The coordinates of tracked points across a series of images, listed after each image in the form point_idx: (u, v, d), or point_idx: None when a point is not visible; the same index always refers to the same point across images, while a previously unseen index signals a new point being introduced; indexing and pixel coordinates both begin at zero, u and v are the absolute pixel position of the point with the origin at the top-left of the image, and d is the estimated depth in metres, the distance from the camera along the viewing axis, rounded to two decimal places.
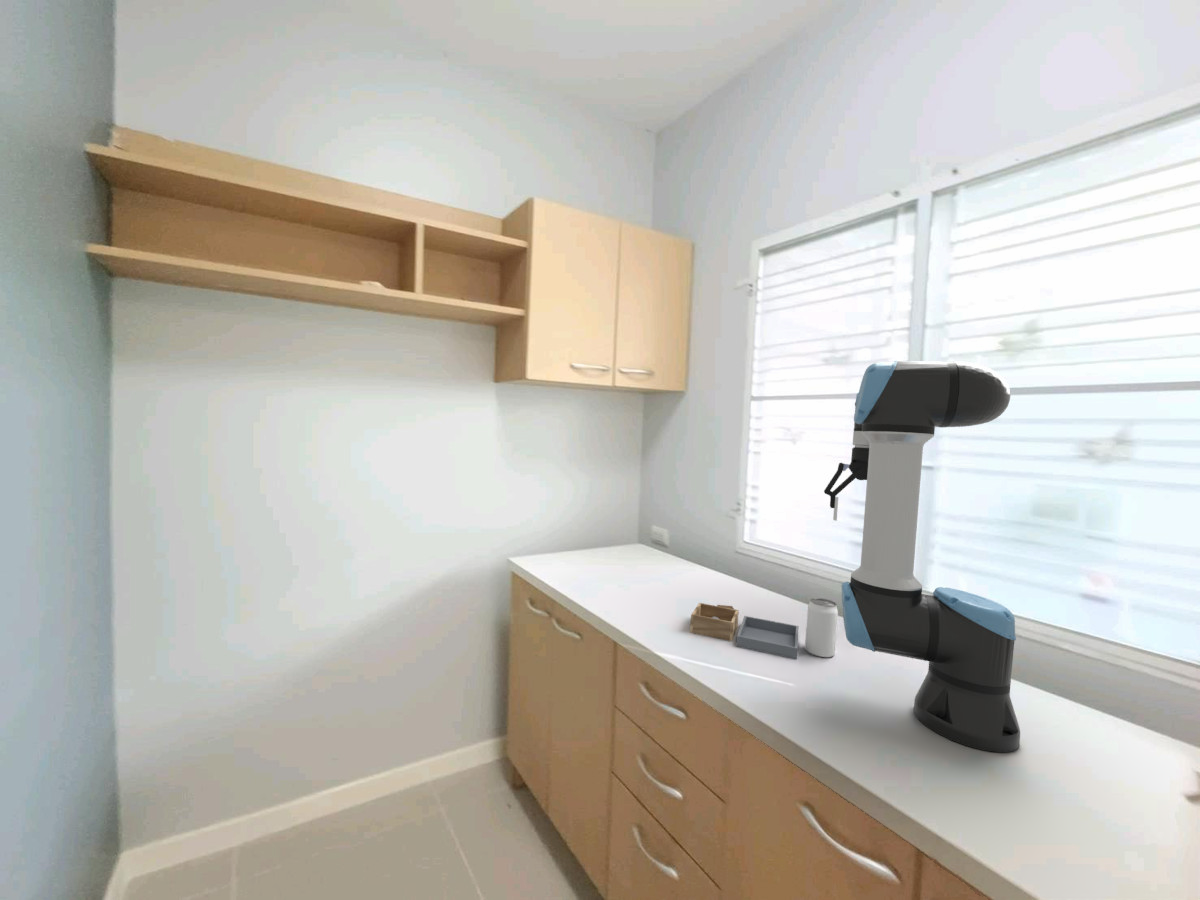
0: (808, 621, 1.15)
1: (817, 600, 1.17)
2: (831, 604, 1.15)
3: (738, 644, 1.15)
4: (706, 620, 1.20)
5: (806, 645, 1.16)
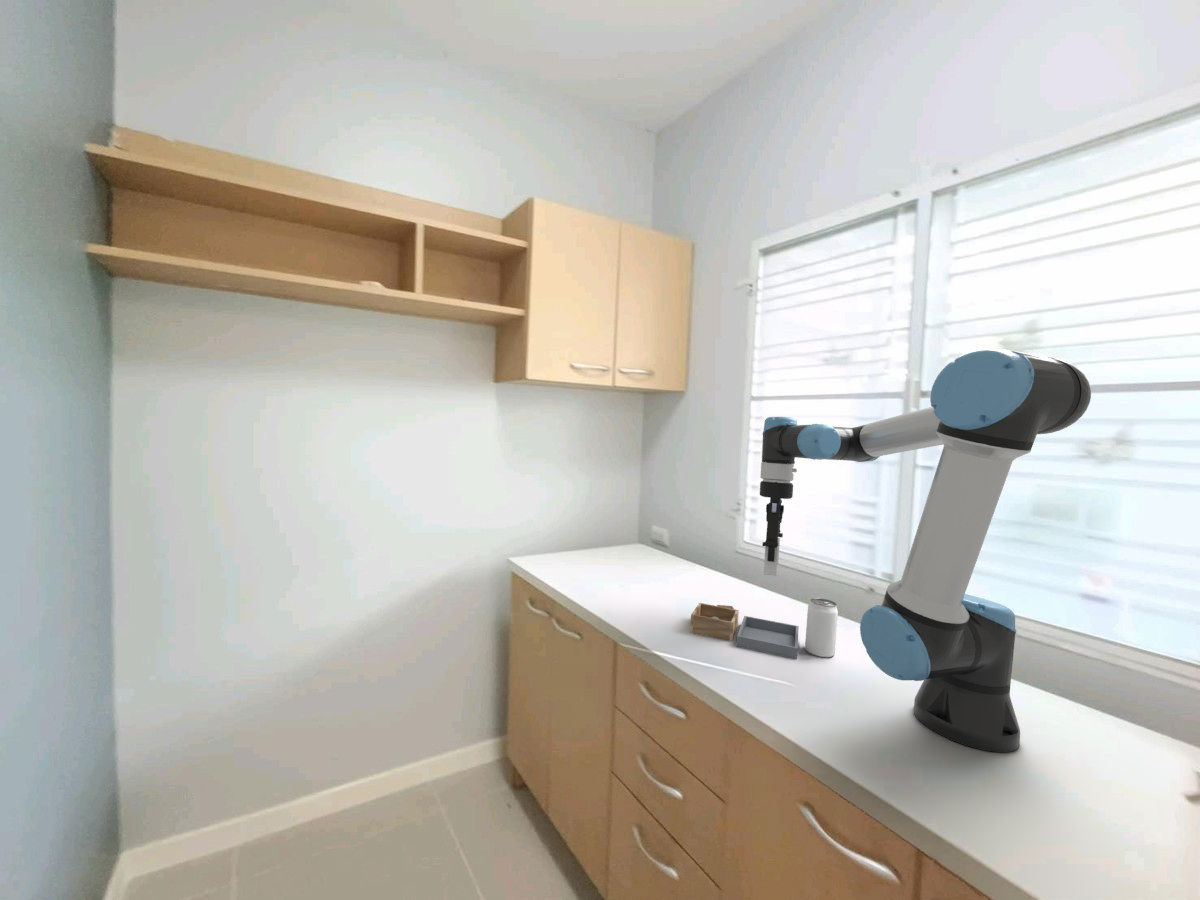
0: (808, 621, 1.15)
1: (817, 600, 1.17)
2: (831, 604, 1.15)
3: (738, 644, 1.15)
4: (706, 620, 1.20)
5: (806, 645, 1.16)
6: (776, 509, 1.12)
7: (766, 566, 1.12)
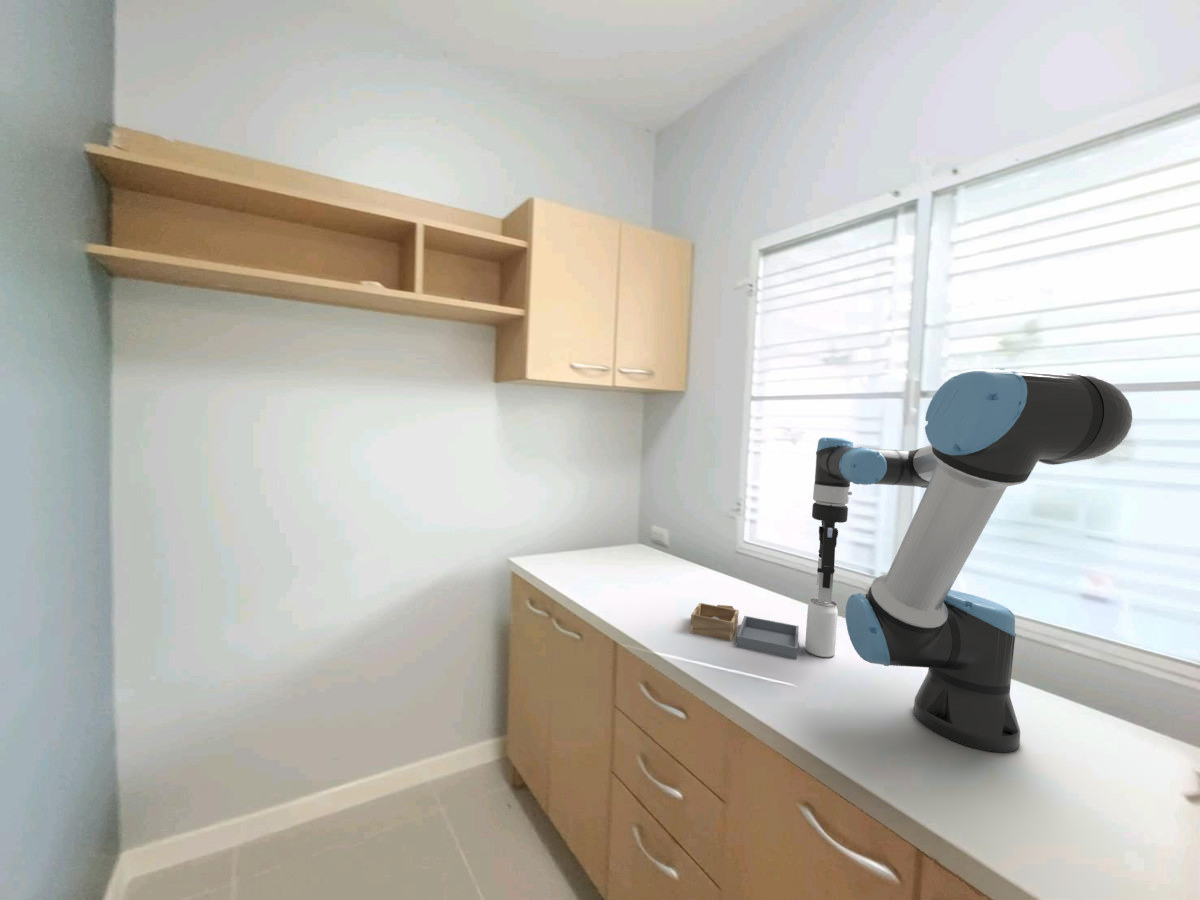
0: (808, 621, 1.15)
1: (817, 600, 1.17)
2: (831, 604, 1.15)
3: (738, 644, 1.15)
4: (706, 620, 1.20)
5: (806, 645, 1.16)
6: (832, 534, 1.08)
7: (821, 592, 1.09)
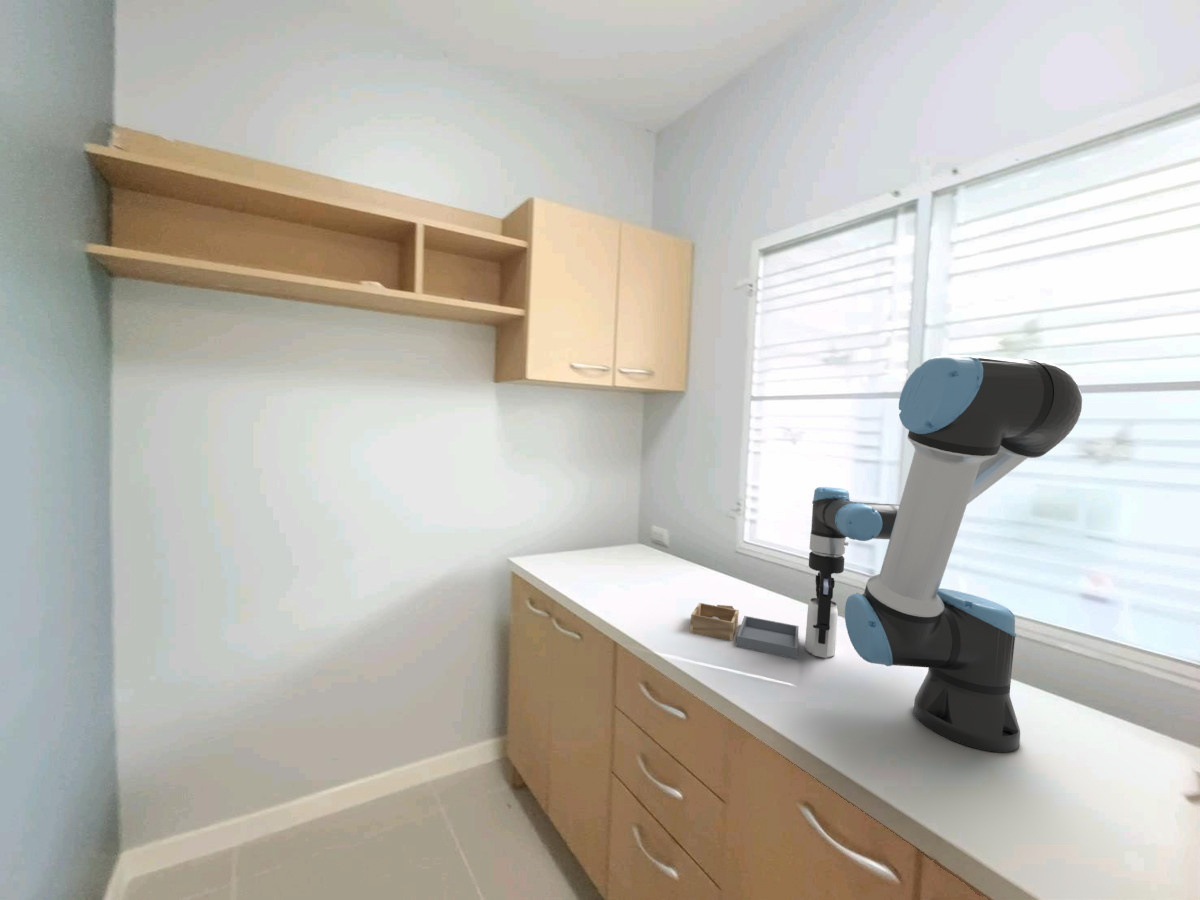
0: (808, 621, 1.15)
1: (817, 600, 1.17)
2: (831, 604, 1.15)
3: (738, 644, 1.15)
4: (706, 620, 1.20)
5: (806, 645, 1.16)
6: (828, 592, 1.09)
7: (817, 647, 1.12)
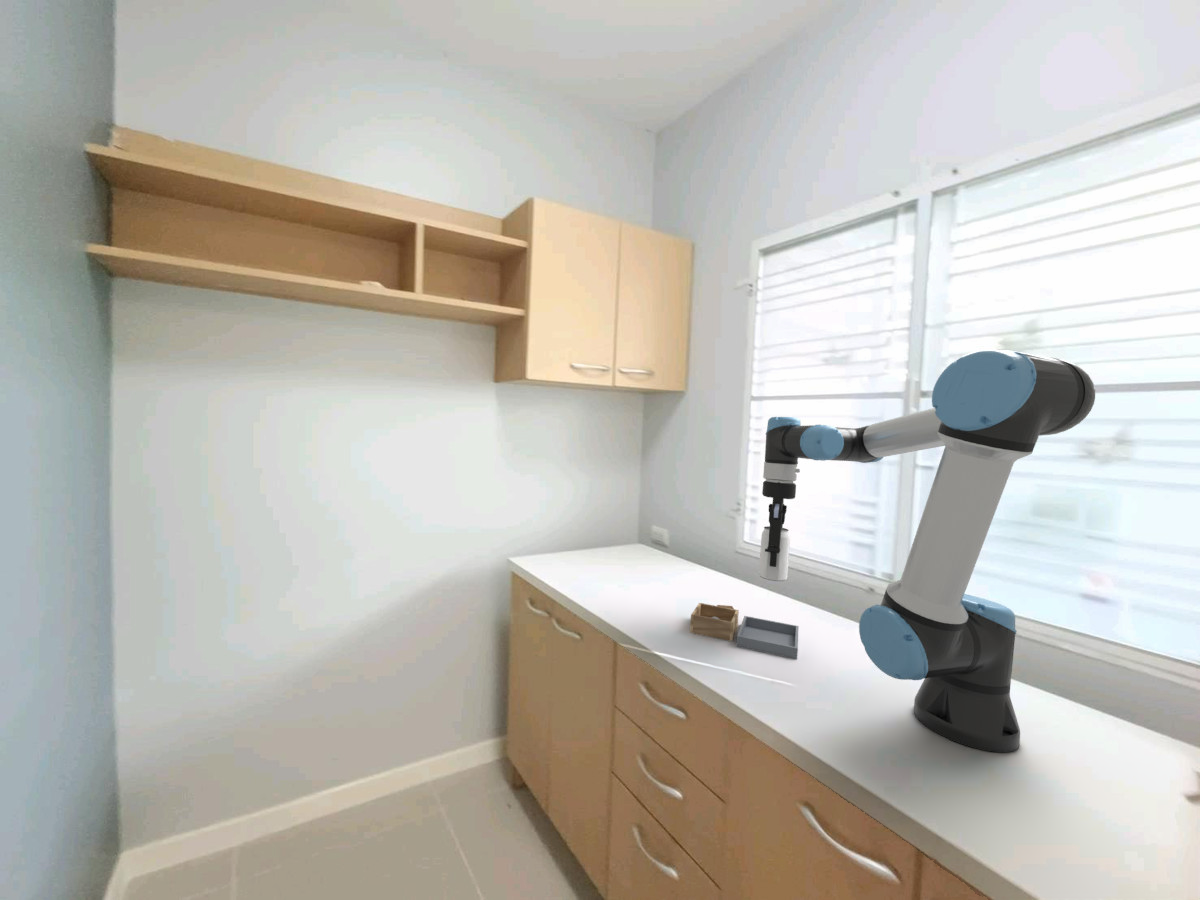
0: (761, 547, 1.18)
1: None
2: (783, 530, 1.18)
3: (738, 644, 1.15)
4: (706, 620, 1.20)
5: (759, 571, 1.19)
6: (778, 515, 1.12)
7: (768, 571, 1.15)
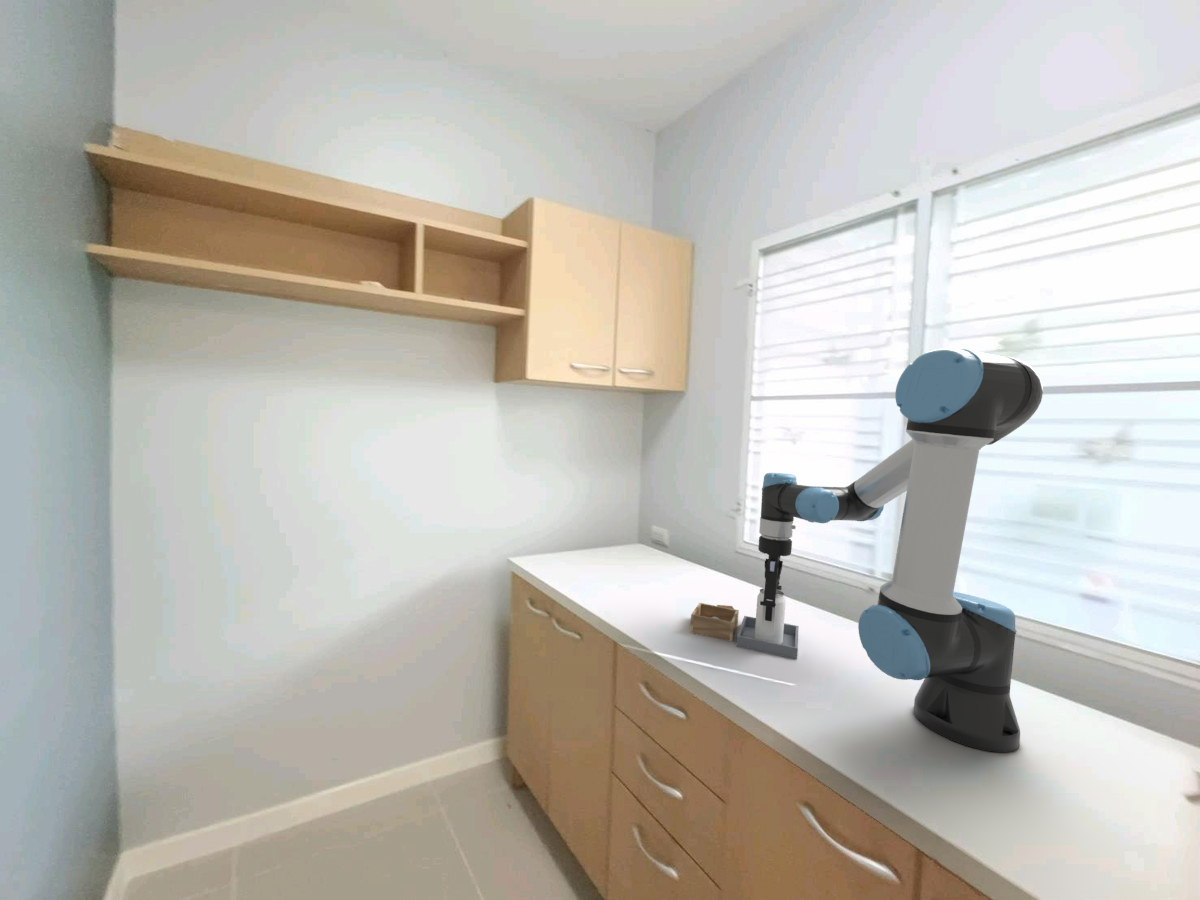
0: (757, 610, 1.19)
1: None
2: (779, 594, 1.18)
3: (738, 644, 1.15)
4: (706, 620, 1.20)
5: (755, 634, 1.19)
6: (774, 568, 1.12)
7: (764, 625, 1.13)
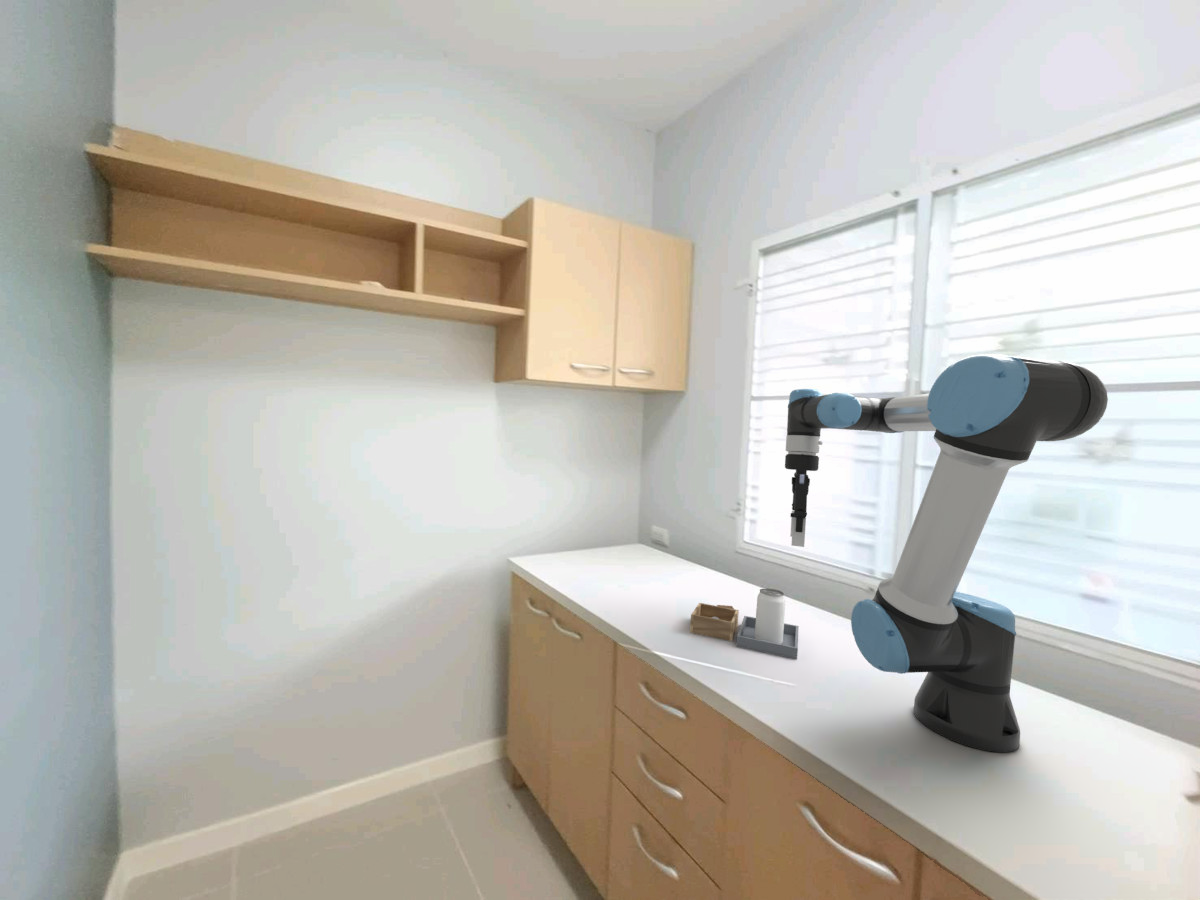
0: (757, 610, 1.19)
1: (766, 590, 1.21)
2: (779, 594, 1.18)
3: (738, 644, 1.15)
4: (706, 620, 1.20)
5: (755, 634, 1.19)
6: (804, 480, 1.12)
7: (794, 537, 1.12)
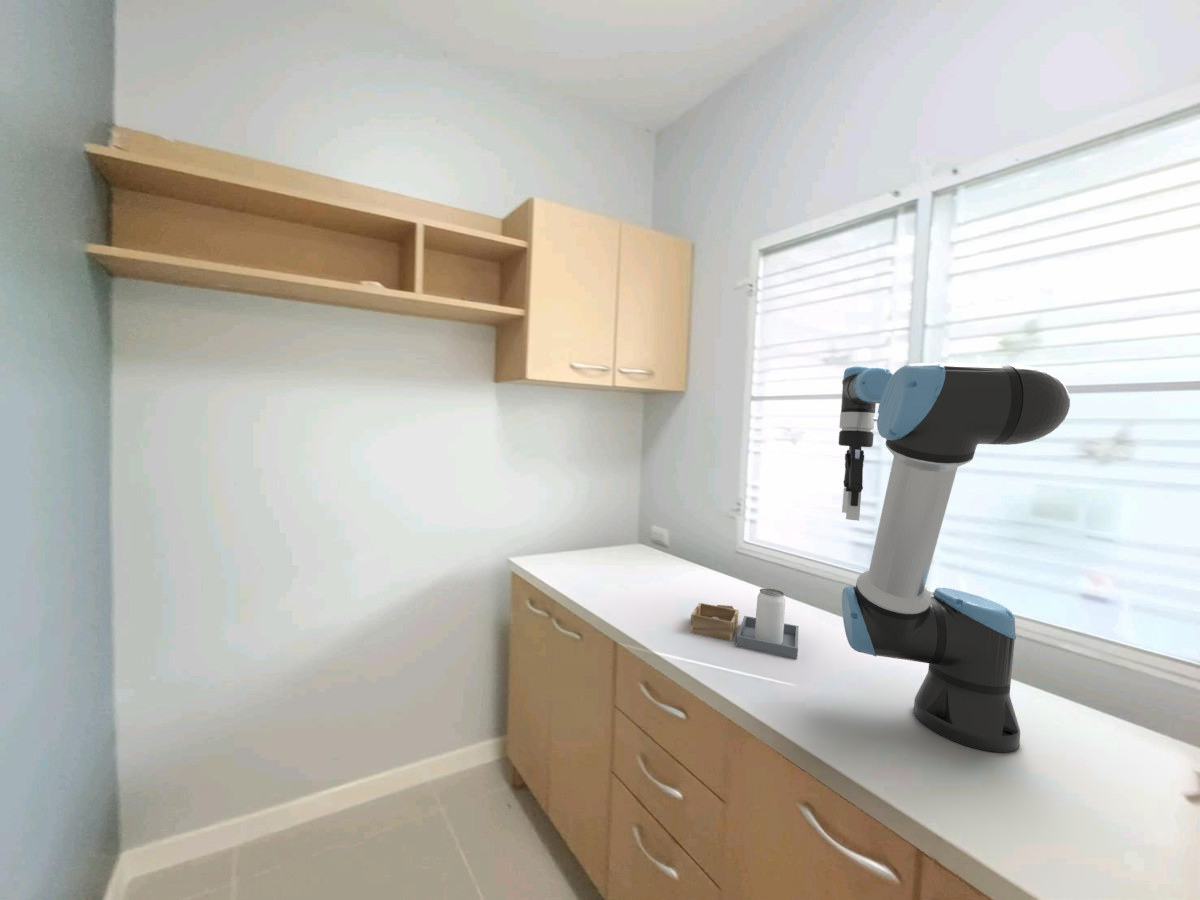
0: (757, 610, 1.19)
1: (766, 590, 1.21)
2: (779, 594, 1.18)
3: (738, 644, 1.15)
4: (706, 620, 1.20)
5: (755, 634, 1.19)
6: (859, 455, 1.14)
7: (849, 511, 1.15)
